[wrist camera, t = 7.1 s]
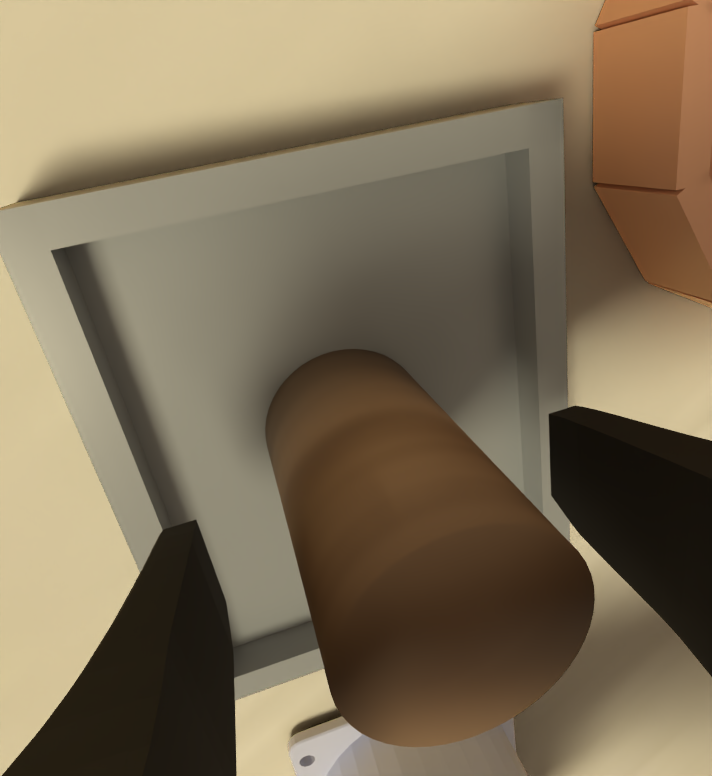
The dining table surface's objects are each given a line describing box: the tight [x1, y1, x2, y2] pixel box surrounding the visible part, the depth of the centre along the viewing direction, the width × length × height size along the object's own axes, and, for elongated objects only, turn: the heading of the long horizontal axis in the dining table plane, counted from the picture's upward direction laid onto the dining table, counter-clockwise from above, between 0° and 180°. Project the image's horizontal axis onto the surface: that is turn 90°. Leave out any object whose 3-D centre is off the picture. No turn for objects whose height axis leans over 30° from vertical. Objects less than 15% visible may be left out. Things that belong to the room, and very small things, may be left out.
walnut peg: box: [265, 349, 595, 747], centre depth 11 cm, size 4×4×7 cm
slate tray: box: [0, 98, 570, 700], centre depth 14 cm, size 13×11×2 cm
